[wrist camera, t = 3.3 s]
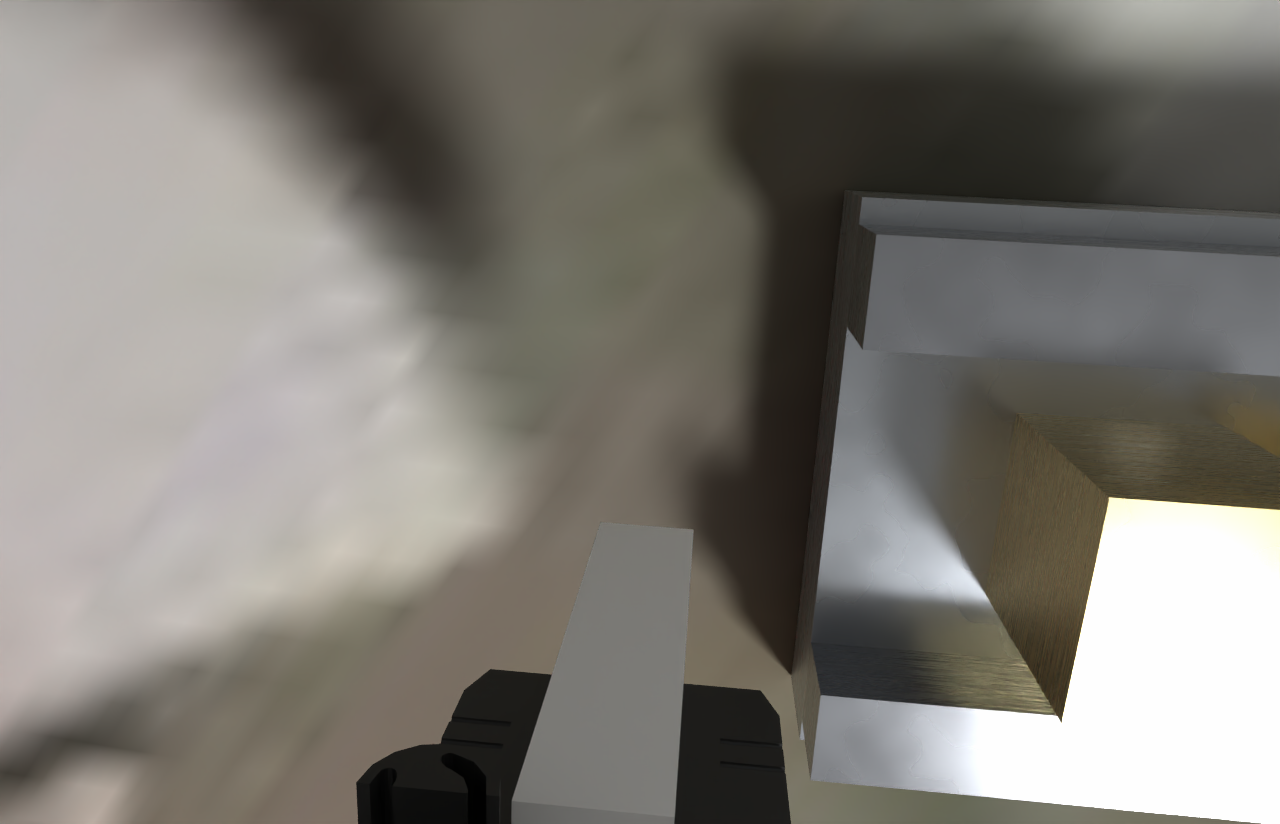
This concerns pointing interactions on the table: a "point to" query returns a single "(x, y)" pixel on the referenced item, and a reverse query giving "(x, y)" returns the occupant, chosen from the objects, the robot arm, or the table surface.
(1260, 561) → the brass block
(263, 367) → the table surface
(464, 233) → the table surface
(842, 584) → the slotted deck
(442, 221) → the table surface
